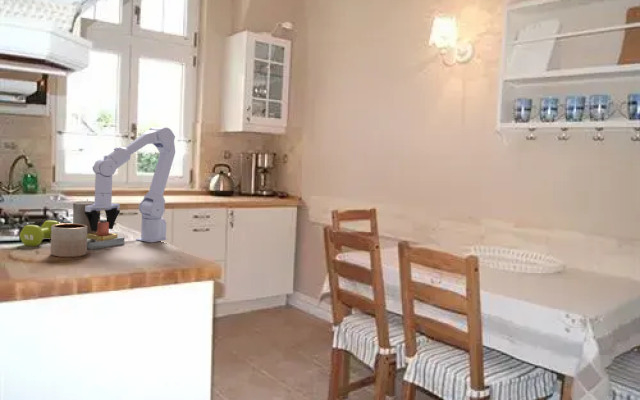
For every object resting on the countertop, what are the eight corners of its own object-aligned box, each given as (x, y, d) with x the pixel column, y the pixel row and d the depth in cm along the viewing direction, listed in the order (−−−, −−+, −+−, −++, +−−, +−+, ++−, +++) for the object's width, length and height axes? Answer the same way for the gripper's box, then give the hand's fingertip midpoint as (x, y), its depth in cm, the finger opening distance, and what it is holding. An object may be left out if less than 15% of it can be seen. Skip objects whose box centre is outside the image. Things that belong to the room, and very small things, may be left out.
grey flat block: (101, 240, 208) (102, 230, 207) (124, 244, 203) (124, 234, 203) (62, 246, 191) (62, 236, 191) (85, 250, 187) (86, 240, 187)
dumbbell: (43, 238, 205) (44, 219, 204) (64, 239, 204) (64, 220, 204) (16, 245, 188) (17, 225, 188) (39, 247, 188) (39, 226, 187)
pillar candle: (103, 236, 215) (104, 198, 214) (94, 240, 206) (95, 200, 204) (78, 235, 215) (78, 197, 213) (68, 239, 205) (68, 199, 204)
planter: (93, 253, 185) (93, 224, 184) (75, 259, 174) (76, 229, 173) (62, 250, 186) (63, 222, 185) (43, 256, 175) (43, 226, 174)
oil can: (102, 236, 203) (102, 219, 202) (111, 237, 201) (111, 220, 201) (94, 237, 199) (94, 220, 198) (103, 238, 198) (103, 221, 197)
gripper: (109, 190, 207) (108, 226, 208) (79, 192, 194) (78, 230, 195) (124, 192, 204) (123, 228, 205) (94, 194, 191) (92, 233, 192)
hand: (102, 229), depth 200 cm, fingers open, 7 cm apart
